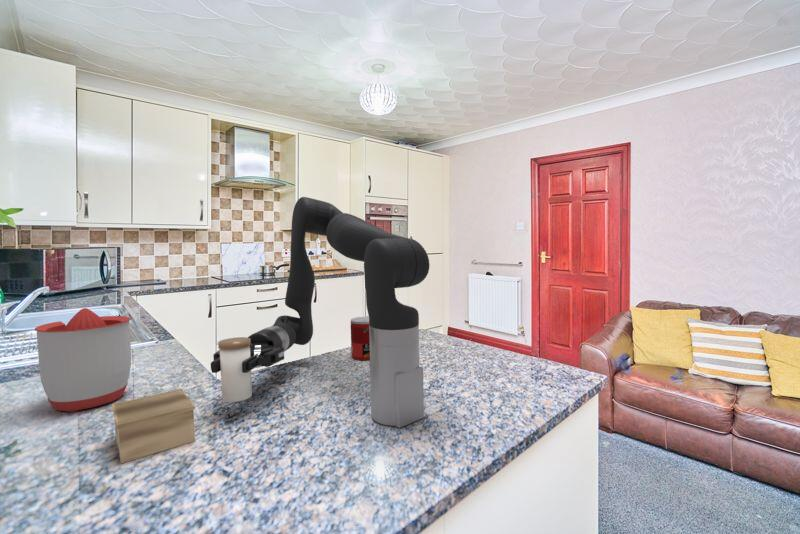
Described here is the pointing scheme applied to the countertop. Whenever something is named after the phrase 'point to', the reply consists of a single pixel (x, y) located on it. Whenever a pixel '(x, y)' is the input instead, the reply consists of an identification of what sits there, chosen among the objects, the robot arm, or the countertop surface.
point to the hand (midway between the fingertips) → (228, 367)
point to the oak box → (153, 424)
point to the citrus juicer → (84, 360)
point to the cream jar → (234, 369)
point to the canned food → (360, 338)
